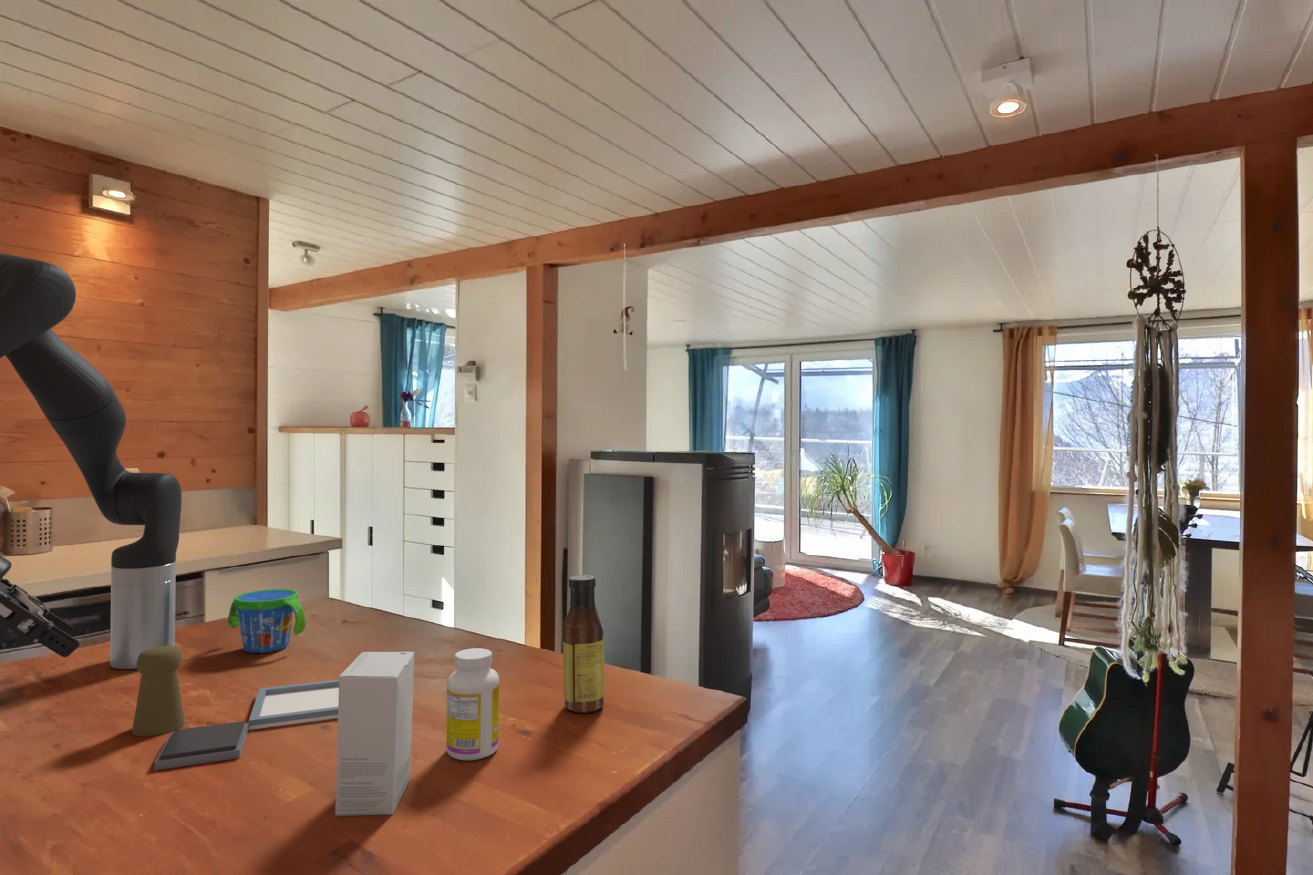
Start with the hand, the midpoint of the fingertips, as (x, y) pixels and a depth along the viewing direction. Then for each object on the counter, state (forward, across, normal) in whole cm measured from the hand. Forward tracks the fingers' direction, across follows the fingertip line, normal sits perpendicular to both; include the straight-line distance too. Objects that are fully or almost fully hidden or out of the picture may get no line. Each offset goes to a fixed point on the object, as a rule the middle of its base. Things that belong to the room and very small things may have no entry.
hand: (70, 642), depth 92 cm
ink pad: (+19, -12, 0) cm, 22 cm away
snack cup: (+31, +28, -12) cm, 44 cm away
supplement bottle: (+37, -35, -18) cm, 54 cm away
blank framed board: (+28, -5, -9) cm, 30 cm away
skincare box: (+27, -38, -8) cm, 48 cm away
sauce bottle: (+51, -32, -32) cm, 68 cm away
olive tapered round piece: (+16, 0, +3) cm, 17 cm away
